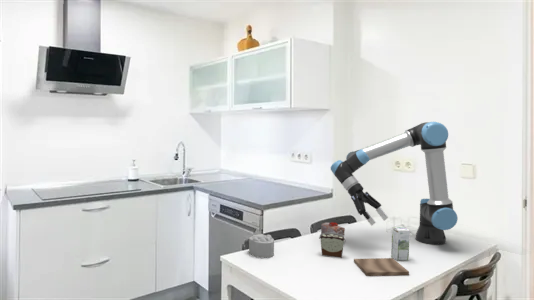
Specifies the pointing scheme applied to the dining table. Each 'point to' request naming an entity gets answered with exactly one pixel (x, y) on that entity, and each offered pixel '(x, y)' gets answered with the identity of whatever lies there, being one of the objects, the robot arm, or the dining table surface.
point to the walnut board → (380, 267)
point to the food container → (332, 244)
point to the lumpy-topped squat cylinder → (261, 246)
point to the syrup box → (400, 243)
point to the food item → (332, 228)
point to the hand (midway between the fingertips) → (380, 221)
